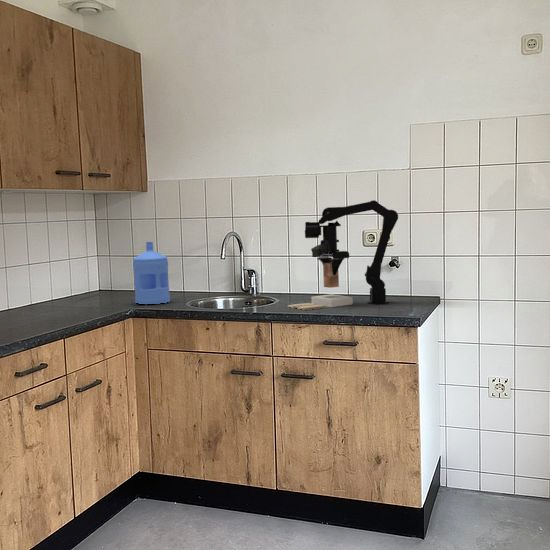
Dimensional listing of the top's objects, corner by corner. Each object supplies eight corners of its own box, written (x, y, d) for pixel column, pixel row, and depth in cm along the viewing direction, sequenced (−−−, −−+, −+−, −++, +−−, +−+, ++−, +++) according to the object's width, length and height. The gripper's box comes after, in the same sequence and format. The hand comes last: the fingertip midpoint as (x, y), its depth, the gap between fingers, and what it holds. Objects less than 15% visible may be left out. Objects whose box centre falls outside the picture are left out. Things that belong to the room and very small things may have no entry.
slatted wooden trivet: (325, 307, 269) (325, 305, 269) (305, 310, 264) (305, 308, 263) (307, 304, 280) (307, 302, 280) (287, 307, 275) (287, 305, 274)
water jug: (129, 303, 305) (126, 242, 302) (160, 299, 314) (157, 240, 311) (144, 306, 292) (140, 243, 289) (176, 302, 302) (172, 241, 299)
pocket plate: (352, 304, 275) (352, 297, 275) (331, 307, 270) (331, 299, 269) (332, 301, 287) (332, 294, 287) (311, 303, 281) (311, 296, 281)
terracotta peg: (338, 286, 277) (338, 262, 276) (330, 287, 275) (329, 263, 274) (332, 285, 281) (331, 262, 280) (323, 286, 278) (323, 263, 277)
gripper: (301, 238, 279) (302, 275, 281) (327, 239, 264) (328, 278, 265) (322, 236, 285) (323, 272, 287) (349, 237, 269) (350, 275, 271)
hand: (330, 274), depth 277 cm, fingers closed on terracotta peg, 4 cm apart
